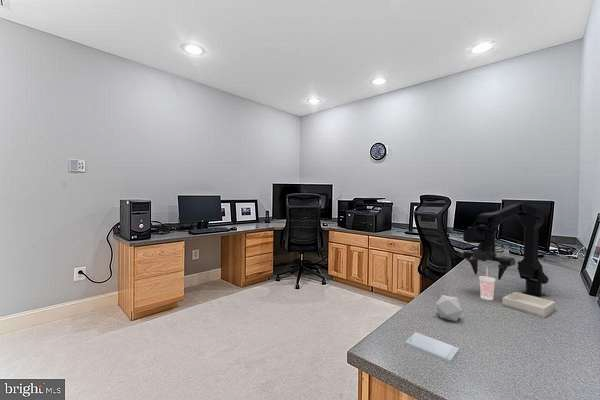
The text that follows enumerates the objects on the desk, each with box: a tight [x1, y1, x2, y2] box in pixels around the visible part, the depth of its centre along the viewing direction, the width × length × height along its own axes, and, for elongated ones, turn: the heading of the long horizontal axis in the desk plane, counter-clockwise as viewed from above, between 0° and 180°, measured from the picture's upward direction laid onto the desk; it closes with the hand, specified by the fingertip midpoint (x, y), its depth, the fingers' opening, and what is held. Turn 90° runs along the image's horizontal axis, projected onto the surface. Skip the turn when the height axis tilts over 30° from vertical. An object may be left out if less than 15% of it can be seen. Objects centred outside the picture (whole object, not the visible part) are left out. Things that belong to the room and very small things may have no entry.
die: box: [435, 294, 463, 322], centre depth 96 cm, size 8×9×10 cm
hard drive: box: [404, 331, 461, 364], centre depth 77 cm, size 2×8×12 cm
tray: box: [502, 291, 556, 319], centre depth 106 cm, size 13×13×4 cm
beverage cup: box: [478, 266, 496, 301], centre depth 117 cm, size 6×6×14 cm
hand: (487, 276), depth 117 cm, fingers open, 9 cm apart
